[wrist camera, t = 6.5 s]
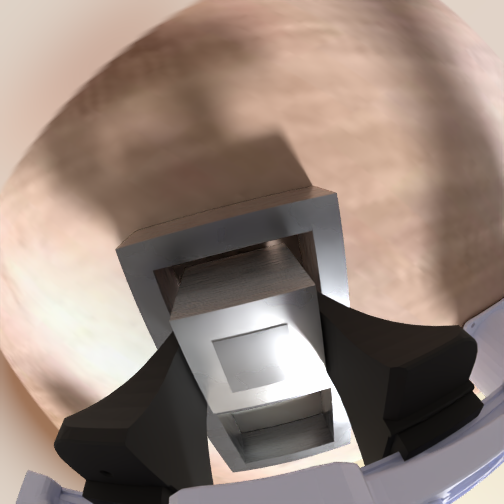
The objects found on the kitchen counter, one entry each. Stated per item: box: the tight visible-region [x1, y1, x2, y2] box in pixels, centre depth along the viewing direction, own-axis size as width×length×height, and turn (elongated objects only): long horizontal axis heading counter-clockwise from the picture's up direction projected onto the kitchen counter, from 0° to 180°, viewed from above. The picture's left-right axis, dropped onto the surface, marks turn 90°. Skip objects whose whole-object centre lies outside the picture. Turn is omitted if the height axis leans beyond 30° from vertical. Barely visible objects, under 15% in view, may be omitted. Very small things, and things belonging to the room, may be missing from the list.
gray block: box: [169, 243, 327, 414], centre depth 11 cm, size 4×4×4 cm
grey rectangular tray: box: [115, 186, 351, 472], centre depth 15 cm, size 9×18×3 cm, turn 13°
